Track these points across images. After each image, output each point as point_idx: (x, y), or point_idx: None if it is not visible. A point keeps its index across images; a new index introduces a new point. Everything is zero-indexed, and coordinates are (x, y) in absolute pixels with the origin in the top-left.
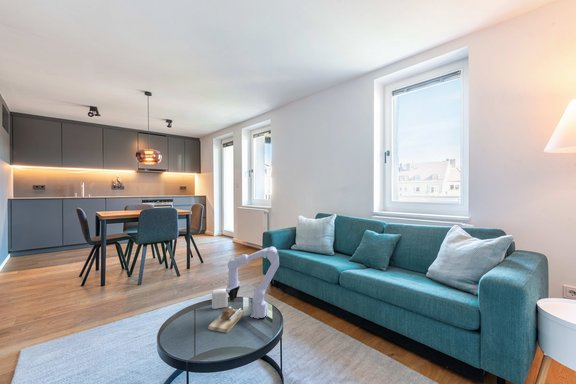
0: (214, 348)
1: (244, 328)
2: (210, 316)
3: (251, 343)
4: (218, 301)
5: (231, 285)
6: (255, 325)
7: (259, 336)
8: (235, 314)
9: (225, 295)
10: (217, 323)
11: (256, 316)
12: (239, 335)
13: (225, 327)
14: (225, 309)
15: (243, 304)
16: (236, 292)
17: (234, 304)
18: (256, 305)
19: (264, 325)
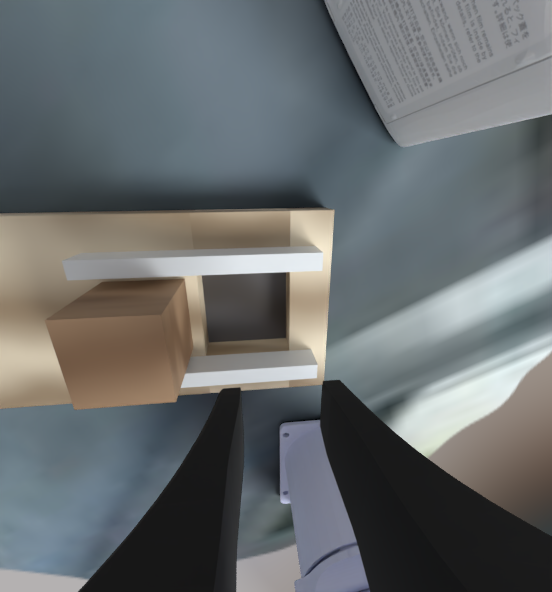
0: None
1: (133, 453)
2: (152, 66)
3: (22, 544)
4: (389, 4)
5: None
6: None
7: (106, 545)
8: (193, 384)
9: (506, 94)
10: (4, 283)
11: (285, 467)
12: (44, 466)
13: (2, 384)
14: (106, 337)
15: (470, 281)
16: (363, 559)
17: (465, 197)
18: (300, 569)
19: None
